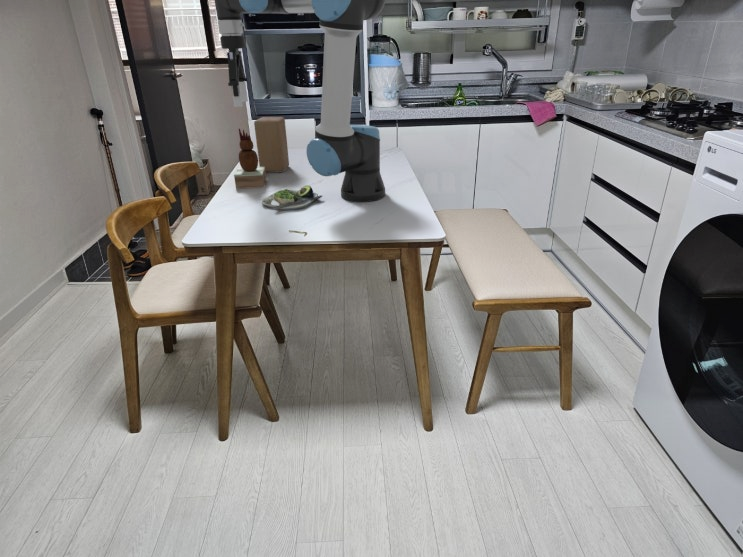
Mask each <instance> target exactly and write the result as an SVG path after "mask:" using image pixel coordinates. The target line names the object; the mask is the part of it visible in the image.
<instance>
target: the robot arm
mask: <svg viewBox="0 0 743 557" xmlns="http://www.w3.org/2000/svg"><path fill="white" fill-rule="evenodd" d="M385 4H386V0H214V5H215V12H216V18H217V27H218V34H219V35H221V36H220V37H219V39H220V45H221V46H220V47H221V48H222V49H224V50H228V51H227V52H226V57H227V65H228V66H227V67H228V83H227V85H228V87H230V89H231V96H232V104H233V107H234V108H242V107H243V103H244V102H248V101H249V100H248V93H247V85H246V82H248V77H247V76H246V73H245V69H244V68H245V67H244V63H243V62H244V61H243V58H242V51H241V50H239V49H244V48H245V47H246V43H245V36H243V34H244V29H243V27H245V24H244V23H243V22H242V18H243V17H242V14H283V15H289V14H315V15H316V17H317V18H318V19H319V25H318V26H319V27H320V29H321V30H322V31H323V33H324V42H323V44H324V45H323V61H322V62H323V66H322V90H321V110H320V123H319V124H318V125H317V126H315V128H314V131H315V132H314V138H312V139H311V140H310V141H309V142H308V143H307V146H306V157H307V161H308V163H309V166H311V168H312V169H313V171H314V172H316V173H317V174H318V175H320V176H322V177H331V176H337V175H339V174H342V173H344V176H343V181H342V184H341V187H340V196H341V198H342V199H344V200H347V201H351V202H357V203H359V202H362V203H363V202H365V203H368V202H374V201H378V200H381V199H383V198H384V197H385V196H386V187H385V183H384V181H383V178H382V175H381V165H380V164H381V162H380V161H381V158H380V156H381V152H380V151H381V150H380V149H381V146H380V145H381V137H380V130H379V128H378V127H376V126H374V125H373V126H372V125H367V124H366V125H364V124H351V112H352V101H353V100H352V98H353V86H354V76H355V75H354V74H355V73H354V72H355V60H356V46H357V38H358V36H359V35H360V34H361V33H362V32H363V31H364V21H369V20H373V19H374V18H377V16H379V15H380V13H381V12H382V11H383V9H384V7H385Z"/></svg>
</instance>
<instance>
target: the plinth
mask: <svg viewBox="0 0 743 557" xmlns="http://www.w3.org/2000/svg"><path fill="white" fill-rule="evenodd" d="M233 177H234V184H235V189H251V188H252V189H253V188H256V189H257V188H265V186H266V182H267V172H266V170H265V167H260V166H257V169H256V170H255V171H252V172H247V171H244V170H243V169H242V167H238V168H237V169H236V170H235V173H234V174H233Z"/></svg>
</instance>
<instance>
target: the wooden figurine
mask: <svg viewBox="0 0 743 557" xmlns="http://www.w3.org/2000/svg"><path fill="white" fill-rule="evenodd" d="M238 135H239V140H240V141H239V149H240V151H239V152H238V160H239V164H240V168H242V169H243V170H244V171H247V172H252V171H255V170H256V169H257V167H259V158H258V153H257V152H256V151H255V150H254V143H253V141H252V139H251V136H250V134H248V132H246V133H245V130H244V129H242V130H241V129H240V128H238Z"/></svg>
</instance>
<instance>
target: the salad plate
mask: <svg viewBox="0 0 743 557" xmlns="http://www.w3.org/2000/svg"><path fill="white" fill-rule="evenodd" d="M322 198H323V195H321V194H320V195H318V193H316V192H314V191H313V188H312V187H311V185H303V186H302V187H300V189H299V190H296V189H287V188H286V189H285V188H284V189H280V190H278V191H275V192H273V193H272V194H270V195H268V196H266V197H263V198H262V200H261V204H262V205H263V206H265V207H266V208H268V209H273V210H279V211H291V210H298V209H299V210H300V209H303V208H305V207H307V206H309V205H312V204H313V203H315V202H316V201H318V200H319V199H322ZM275 200H276V202H277V203H278V205H276V204H275V205H274V204H272V203H273V201H275Z"/></svg>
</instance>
